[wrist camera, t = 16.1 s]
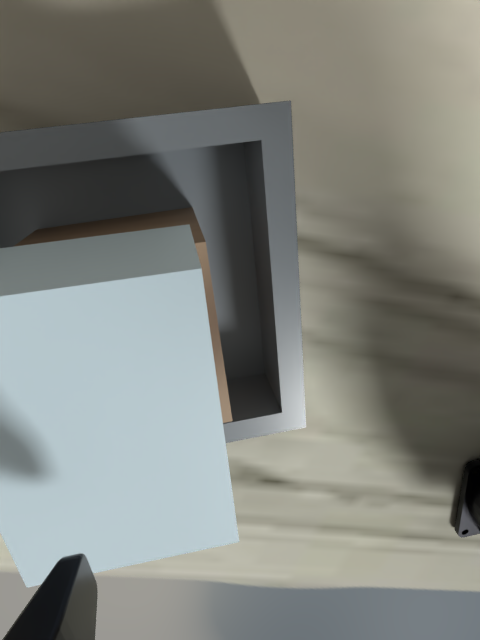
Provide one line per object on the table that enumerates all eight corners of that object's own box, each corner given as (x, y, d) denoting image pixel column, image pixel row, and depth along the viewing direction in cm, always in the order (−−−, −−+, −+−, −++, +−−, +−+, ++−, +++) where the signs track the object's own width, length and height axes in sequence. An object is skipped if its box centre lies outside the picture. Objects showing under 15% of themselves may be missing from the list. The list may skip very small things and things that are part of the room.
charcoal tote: (282, 378, 21) (306, 427, 18) (32, 423, 20) (3, 486, 17) (263, 108, 16) (290, 100, 13) (-77, 146, 15) (-155, 149, 11)
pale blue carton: (219, 435, 14) (239, 542, 10) (64, 464, 13) (27, 587, 10) (189, 224, 11) (201, 268, 7) (-12, 249, 10) (-108, 311, 7)
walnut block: (213, 340, 19) (232, 421, 14) (79, 363, 18) (44, 458, 13) (192, 207, 16) (205, 241, 11) (36, 229, 16) (-30, 277, 10)
